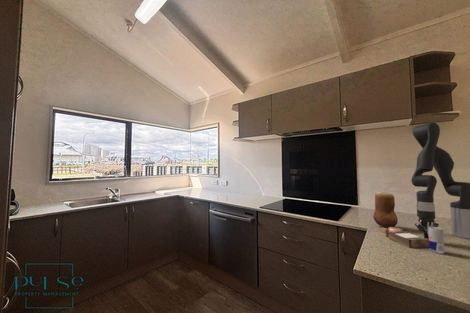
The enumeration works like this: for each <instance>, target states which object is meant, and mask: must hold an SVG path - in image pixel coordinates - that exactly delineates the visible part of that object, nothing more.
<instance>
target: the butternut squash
mask: <svg viewBox="0 0 470 313" xmlns="http://www.w3.org/2000/svg"><path fill="white" fill-rule="evenodd" d="M374 200H375V201H374V213H373V215H372V216H373V217H372V218H373V220H374V221H375V223H376V224H377V225H378V226H380V228H382V227H383V228H387V229H388V228H389V227H396V226H397V225H398V219H399V218H398V216H397V213H396V212H395V206H396V204H395V203H396V202H395V196H394V195H393V194H392V193H390V192H387V191H376V193H375V194H374Z"/></svg>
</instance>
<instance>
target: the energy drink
mask: <svg viewBox="0 0 470 313" xmlns="http://www.w3.org/2000/svg"><path fill="white" fill-rule="evenodd" d="M428 234H429V247H428V248H429V251H430V252H432V253H435V254H440V255H444V254H445V238H444V229H443V227H439V226H438V227H434V226H429V228H428Z"/></svg>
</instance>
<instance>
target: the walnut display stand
mask: <svg viewBox="0 0 470 313" xmlns="http://www.w3.org/2000/svg"><path fill="white" fill-rule="evenodd" d="M399 233H410V231H403V232H389V236H388V239H389V240H390V241H392V242H395V243H397V244H399V245H402V246H405V247H407V248H409V249H411V248H412V249H413V248H429V239H427V238H424V237H423V238H421V239H407V238H404V237H402V236H399V235H396V234H399Z"/></svg>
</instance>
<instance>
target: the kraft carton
mask: <svg viewBox="0 0 470 313" xmlns="http://www.w3.org/2000/svg"><path fill="white" fill-rule="evenodd" d="M396 235H399V236H402V237H404V238H407V239H422V237H420V236H418V235H415V234H413V233H410V232H409V233H399V234H396Z"/></svg>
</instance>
